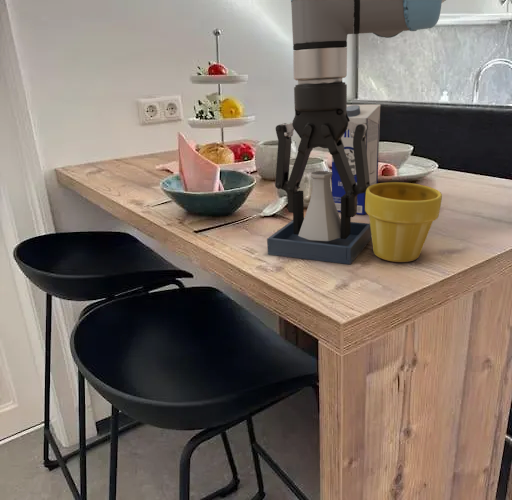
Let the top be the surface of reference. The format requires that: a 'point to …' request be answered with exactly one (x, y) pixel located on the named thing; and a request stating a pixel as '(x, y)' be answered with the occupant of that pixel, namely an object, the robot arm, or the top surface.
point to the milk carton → (358, 115)
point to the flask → (321, 211)
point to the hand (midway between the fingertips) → (321, 233)
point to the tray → (320, 245)
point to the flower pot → (400, 218)
